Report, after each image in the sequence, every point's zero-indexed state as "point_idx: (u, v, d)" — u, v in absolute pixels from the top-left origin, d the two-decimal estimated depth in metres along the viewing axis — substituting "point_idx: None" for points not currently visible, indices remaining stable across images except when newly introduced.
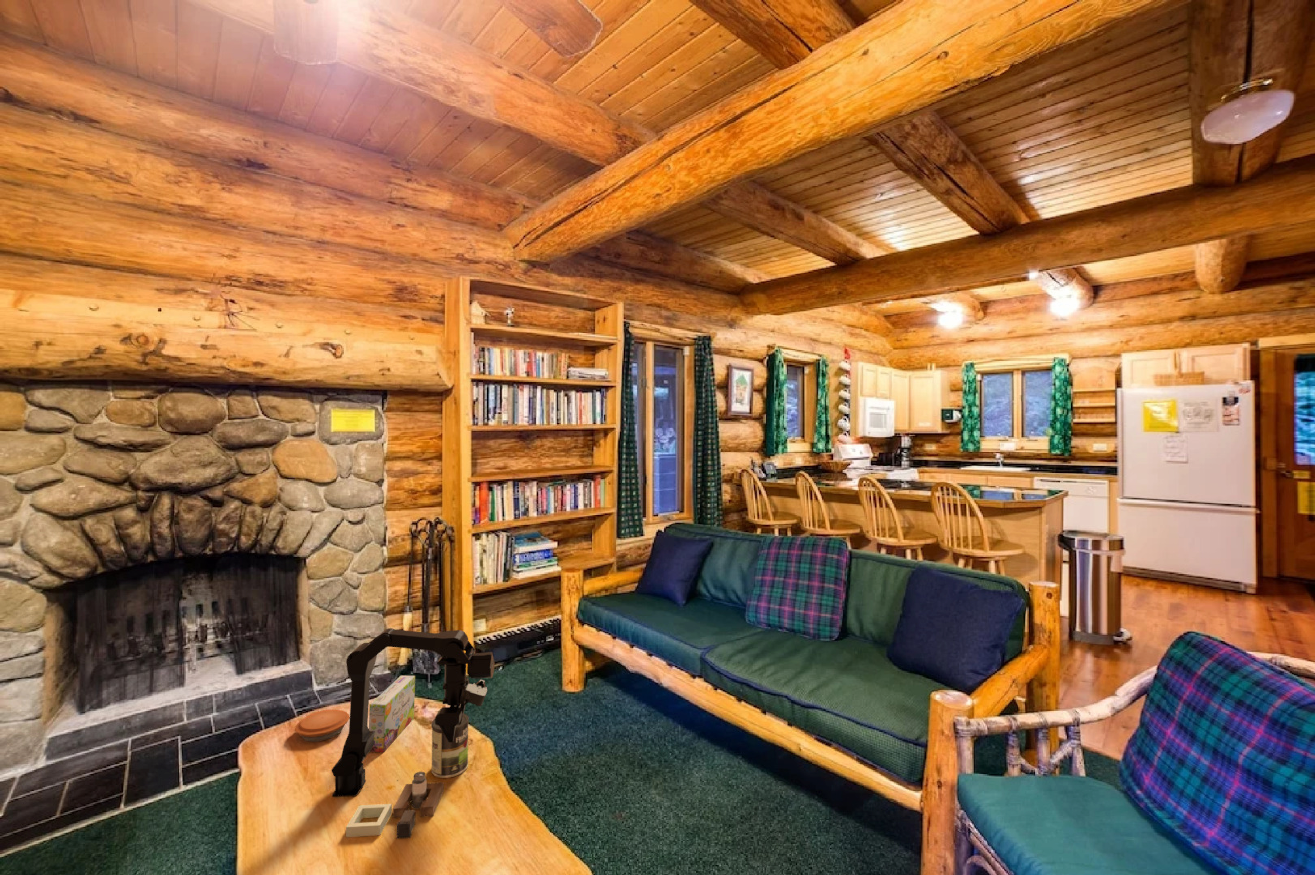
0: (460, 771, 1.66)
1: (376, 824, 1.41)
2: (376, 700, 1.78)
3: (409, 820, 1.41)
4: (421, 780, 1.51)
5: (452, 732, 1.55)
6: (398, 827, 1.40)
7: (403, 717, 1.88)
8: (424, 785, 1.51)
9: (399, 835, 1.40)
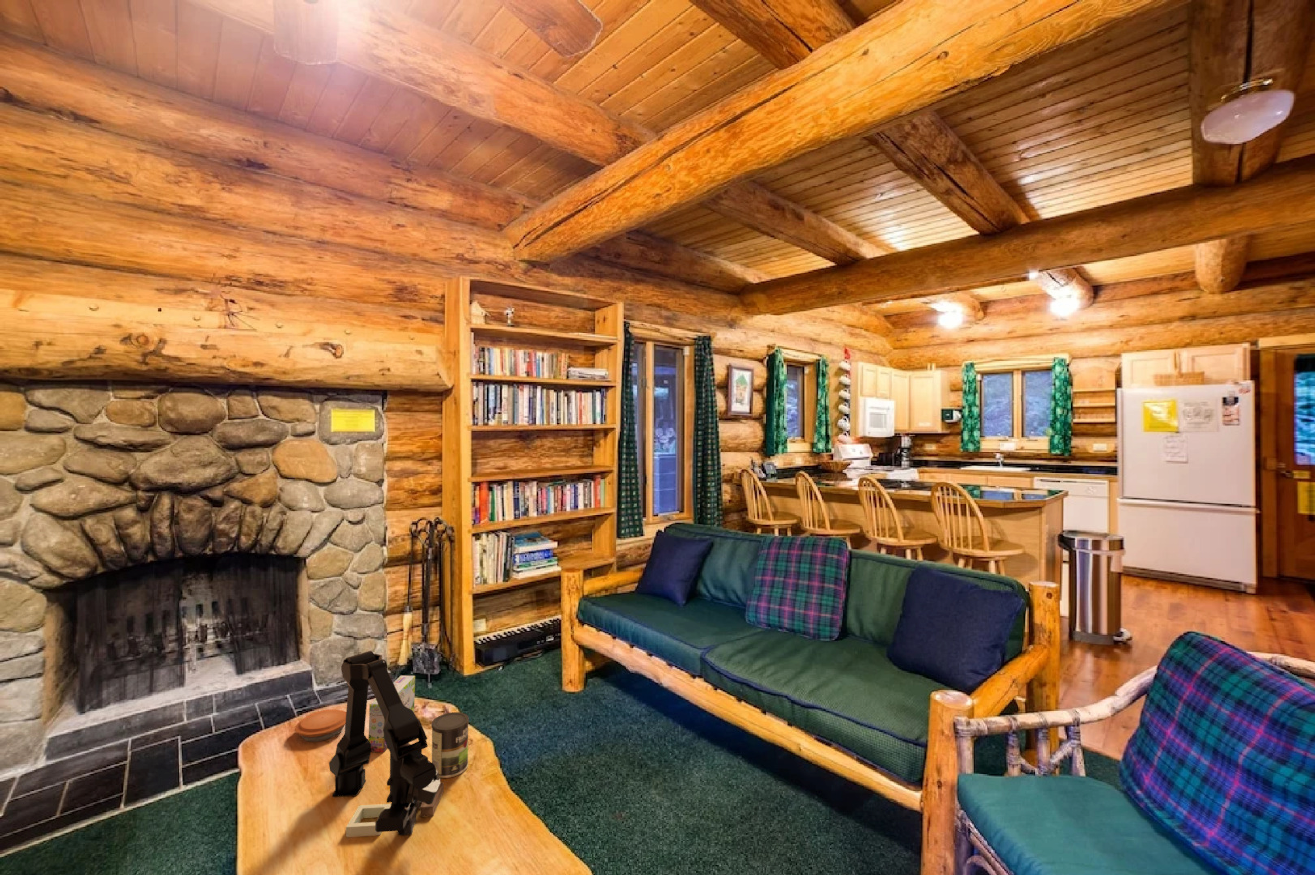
0: (460, 771, 1.66)
1: None
2: (376, 700, 1.78)
3: (410, 817, 1.42)
4: None
5: None
6: None
7: None
8: None
9: None
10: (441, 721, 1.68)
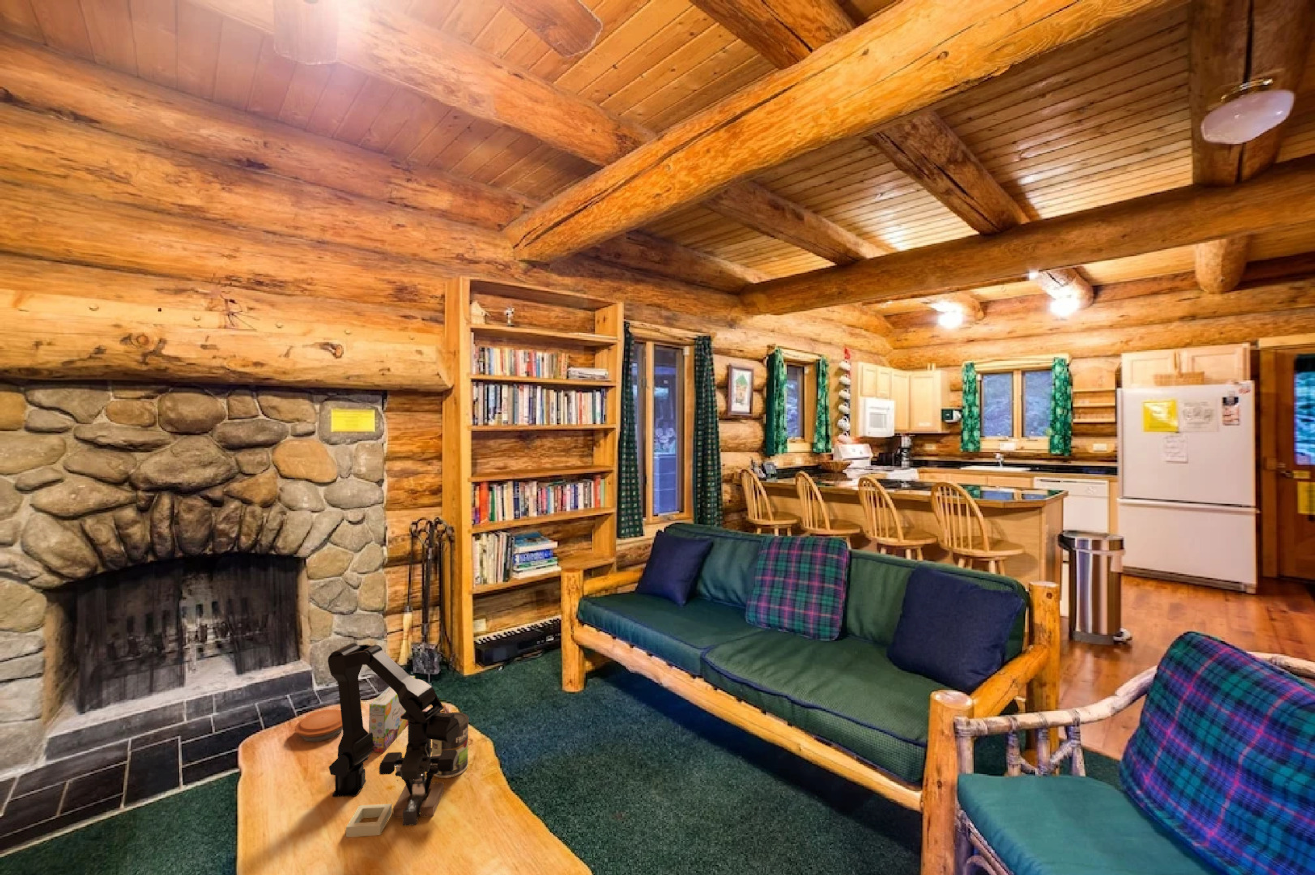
0: (460, 771, 1.66)
1: (376, 824, 1.41)
2: (376, 700, 1.78)
3: (415, 808, 1.45)
4: (421, 780, 1.51)
5: None
6: (404, 814, 1.44)
7: None
8: (424, 785, 1.51)
9: (405, 822, 1.44)
10: None
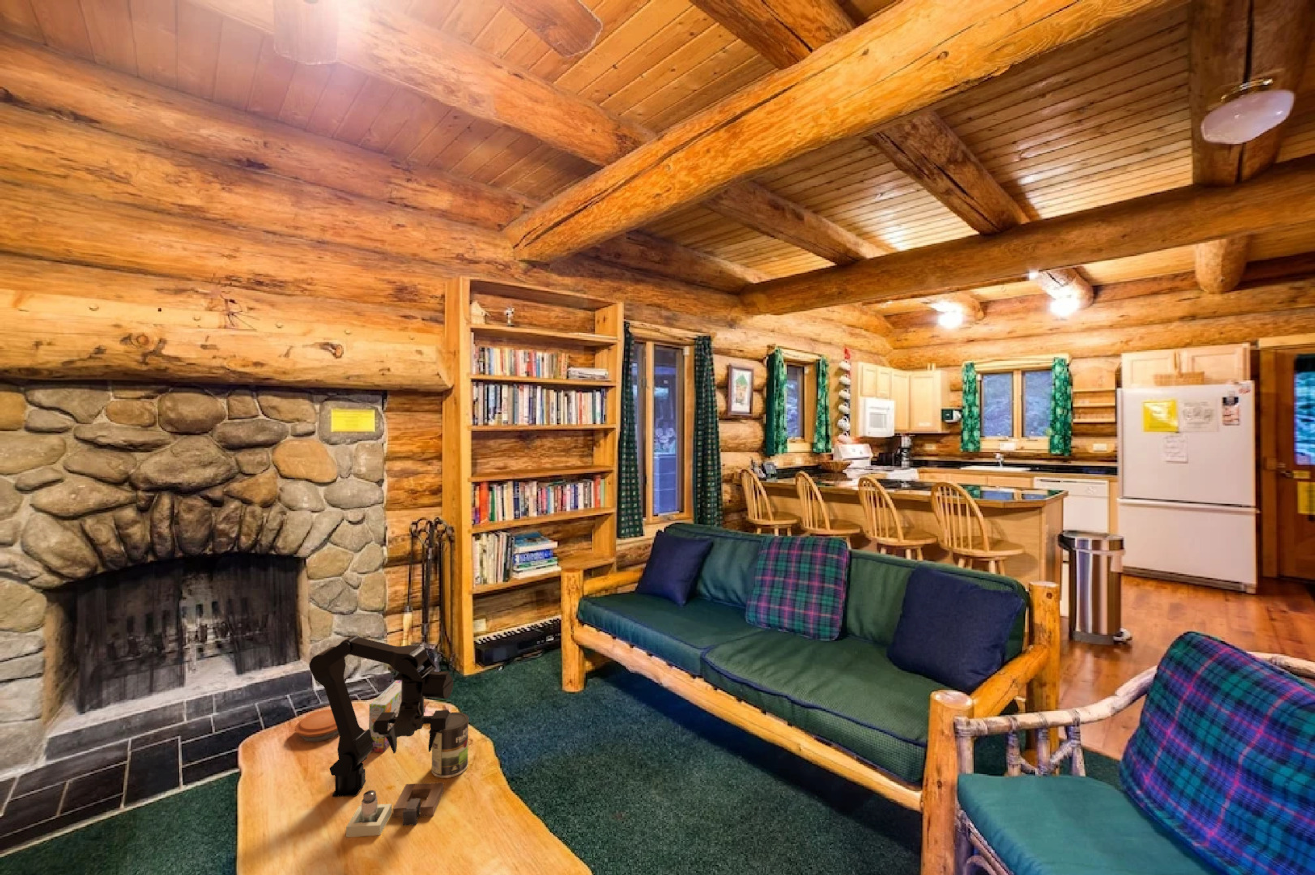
0: (460, 771, 1.66)
1: (376, 824, 1.41)
2: (376, 700, 1.78)
3: (415, 808, 1.45)
4: (371, 799, 1.43)
5: None
6: (404, 814, 1.44)
7: None
8: (374, 805, 1.43)
9: (405, 822, 1.44)
10: None
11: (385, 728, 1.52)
